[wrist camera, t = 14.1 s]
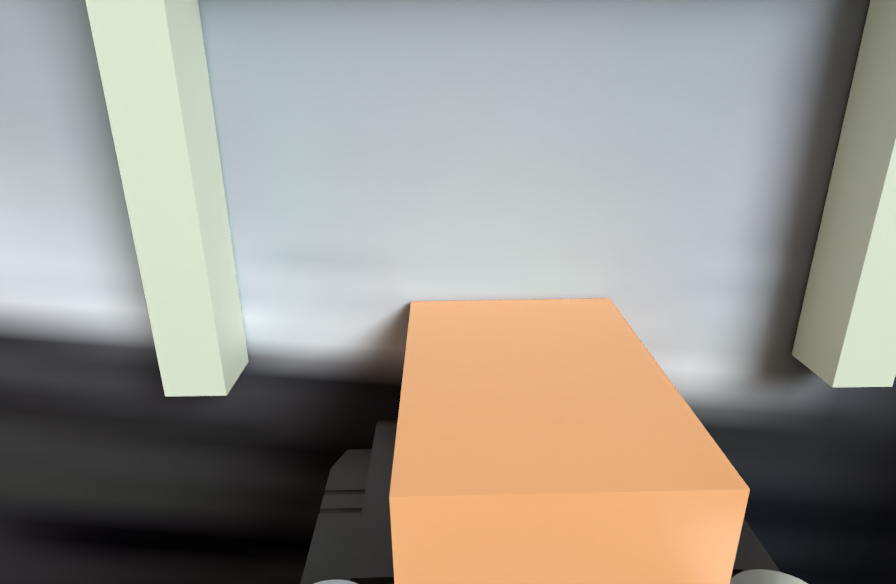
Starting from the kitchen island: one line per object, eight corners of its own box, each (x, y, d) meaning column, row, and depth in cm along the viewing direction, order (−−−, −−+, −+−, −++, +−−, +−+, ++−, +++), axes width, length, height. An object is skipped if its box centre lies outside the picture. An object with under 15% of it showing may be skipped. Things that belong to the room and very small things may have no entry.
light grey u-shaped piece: (980, -171, 8) (1093, -221, 7) (845, 354, 11) (905, 396, 10) (99, -169, 8) (26, -221, 7) (193, 362, 11) (157, 406, 9)
